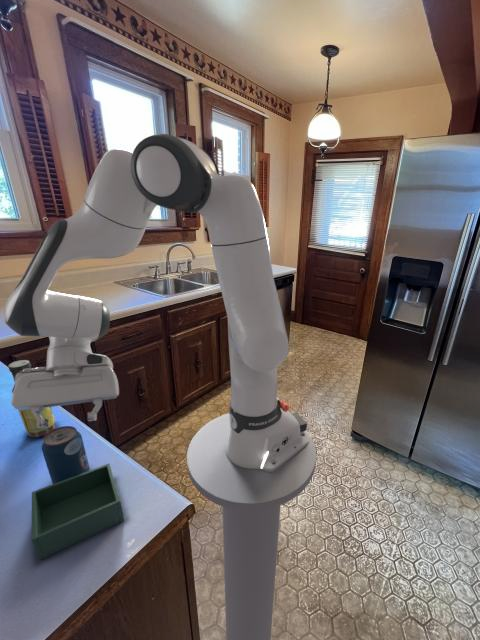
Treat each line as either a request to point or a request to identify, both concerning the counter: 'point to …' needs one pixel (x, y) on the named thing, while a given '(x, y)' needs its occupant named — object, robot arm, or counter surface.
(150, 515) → the counter surface
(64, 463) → the soda can
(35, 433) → the sauce bottle
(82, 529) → the bin
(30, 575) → the counter surface
